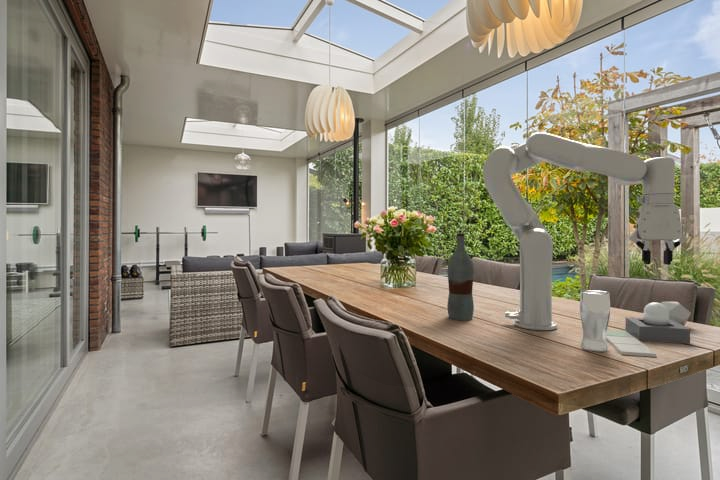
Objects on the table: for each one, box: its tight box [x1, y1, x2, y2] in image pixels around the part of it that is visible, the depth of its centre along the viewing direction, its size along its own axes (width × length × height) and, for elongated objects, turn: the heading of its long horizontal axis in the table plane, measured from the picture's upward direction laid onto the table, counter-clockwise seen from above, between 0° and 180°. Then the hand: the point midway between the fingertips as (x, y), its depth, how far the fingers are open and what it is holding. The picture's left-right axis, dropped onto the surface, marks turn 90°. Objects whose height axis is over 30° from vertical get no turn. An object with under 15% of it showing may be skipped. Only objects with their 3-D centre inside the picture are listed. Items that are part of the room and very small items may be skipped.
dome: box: [642, 301, 669, 325], centre depth 119 cm, size 6×6×6 cm
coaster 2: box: [606, 336, 645, 347], centre depth 113 cm, size 8×8×1 cm
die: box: [660, 301, 692, 327], centre depth 132 cm, size 8×9×10 cm
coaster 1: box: [606, 329, 634, 337], centre depth 121 cm, size 8×8×1 cm
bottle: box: [446, 232, 475, 321], centre depth 145 cm, size 9×9×30 cm
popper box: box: [624, 316, 691, 345], centre depth 119 cm, size 12×12×4 cm
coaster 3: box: [612, 343, 657, 358], centre depth 106 cm, size 8×8×1 cm
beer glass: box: [579, 289, 611, 353], centre depth 108 cm, size 7×7×15 cm
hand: (656, 263), depth 119 cm, fingers open, 4 cm apart
